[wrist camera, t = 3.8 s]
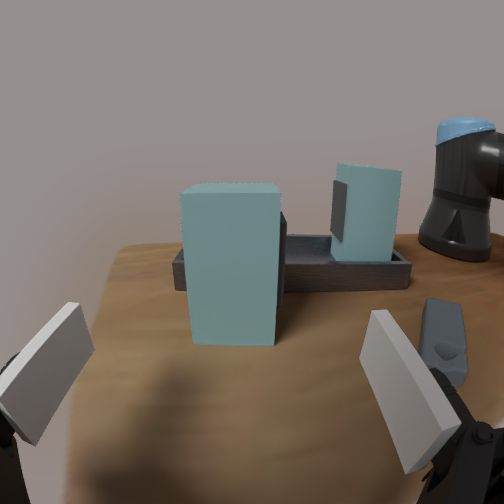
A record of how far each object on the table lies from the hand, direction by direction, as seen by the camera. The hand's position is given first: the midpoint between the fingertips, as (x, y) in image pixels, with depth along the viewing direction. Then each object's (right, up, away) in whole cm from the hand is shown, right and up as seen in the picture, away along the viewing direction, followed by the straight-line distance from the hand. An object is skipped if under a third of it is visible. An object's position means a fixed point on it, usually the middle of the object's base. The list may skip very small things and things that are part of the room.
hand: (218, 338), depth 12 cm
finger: (0, -2, +11) cm, 11 cm away
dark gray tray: (+6, +1, +21) cm, 22 cm away
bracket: (+17, -4, +7) cm, 19 cm away
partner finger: (+14, +3, +21) cm, 25 cm away
